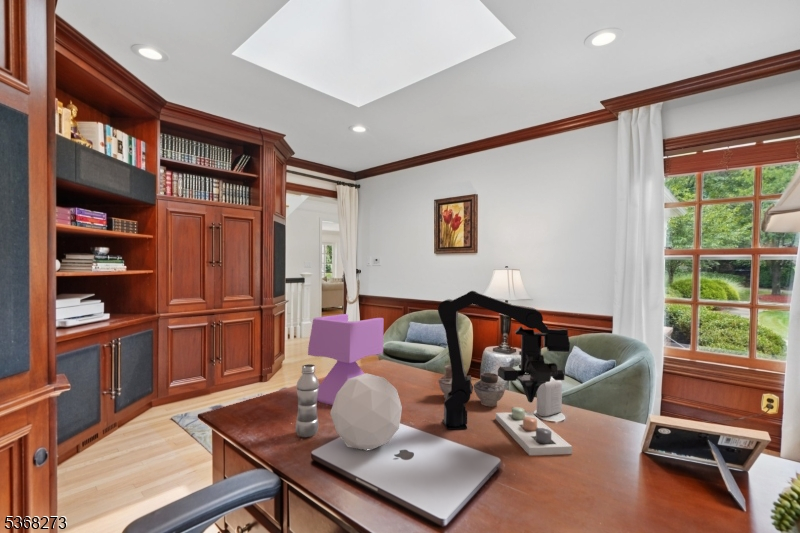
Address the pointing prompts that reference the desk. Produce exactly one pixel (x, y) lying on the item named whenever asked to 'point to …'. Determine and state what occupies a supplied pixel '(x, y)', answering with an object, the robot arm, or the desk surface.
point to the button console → (533, 436)
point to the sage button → (518, 413)
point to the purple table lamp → (343, 348)
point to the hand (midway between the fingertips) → (530, 402)
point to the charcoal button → (543, 436)
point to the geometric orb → (366, 411)
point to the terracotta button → (529, 424)
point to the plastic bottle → (307, 402)
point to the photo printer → (549, 398)
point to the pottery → (477, 387)
